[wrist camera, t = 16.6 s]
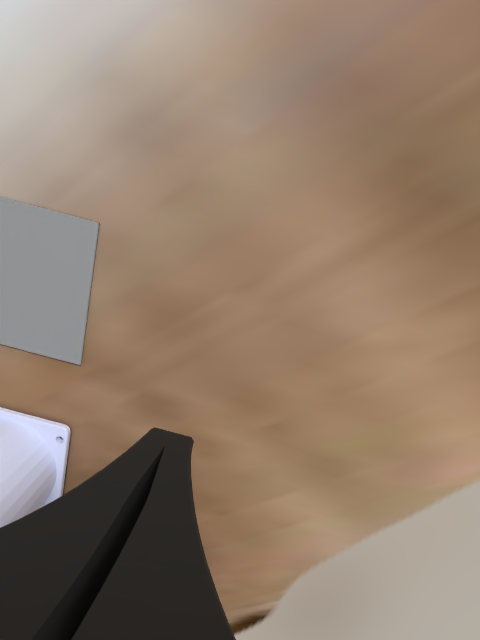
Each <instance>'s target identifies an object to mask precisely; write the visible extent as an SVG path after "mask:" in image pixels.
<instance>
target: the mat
mask: <svg viewBox="0 0 480 640" xmlns="http://www.w3.org/2000/svg"><path fill="white" fill-rule="evenodd" d="M99 224H100V223H98V222H94V221H91V220H87V219H83V218H79V217H75V216H72V215H68V214H64V213H60V212H56V211H53V210H49V209H45V208H41V207H37V206H34V205H30V204H26V203H22V202H18V201H15V200H11V199H7V198H3V197H0V344H2V345H6V346H9V347H13V348H17V349H21V350H25V351H28V352H32V353H36V354H40V355H43V356H47V357H51V358H55V359H59V360H62V361H66V362H70V363H74V364H77V365H81V362H82V354H83V347H84V339H85V331H86V324H87V316H88V308H89V300H90V293H91V285H92V277H93V270H94V262H95V254H96V247H97V239H98V231H99Z"/></svg>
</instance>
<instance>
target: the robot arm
mask: <svg viewBox="0 0 480 640" xmlns="http://www.w3.org/2000/svg"><path fill="white" fill-rule="evenodd" d="M70 433H71V432H70V428H69V427H68V426H67V425H65V424H61V423H57V422H54V421H50V420H46V419H42V418H39V417H35V416H31V415H27V414H23V413H20V412H16V411H12V410H8V409H5V408H1V407H0V640H236V639H235V637H234V634H233V632H232V630H231V627H230V625H229V623H228V620H227V618H226V615H225V613H224V610H223V608H222V605H221V602H220V600H219V597H218V594H217V591H216V588H215V585H214V582H213V579H212V576H211V573H210V570H209V567H208V564H207V561H206V557H205V554H204V550H203V546H202V542H201V538H200V534H199V529H198V525H197V519H196V514H195V507H194V501H193V492H192V480H191V452H192V446H193V442H194V441H193V439H192V438H191V437H189V436H185V435H181V434H177V433H173V432H170V431H166V430H162V429H158V428H153V429H151V430H150V431H149V432H148V433H146V434H145V435H144V436H143V437H142V438H141V439H140V440H139V441H138V442H136V443H135V444H134V445H133V446H132V447H131V448H129V449H128V450H127V451H126V452H125V453H123V454H122V455H121V456H119V457H118V458H117V459H116V460H114V461H113V462H112V463H110V464H109V465H108V466H106V467H105V468H104V469H102V470H101V471H99V472H98V473H96V474H95V475H94V476H92V477H91V478H89V479H88V480H86V481H85V482H83V483H82V484H80V485H79V486H77V487H76V488H74V489H72V490H71V491H69V492H68V493H66V494H64V495H63V487H64V480H65V472H66V464H67V456H68V449H69V441H70ZM60 437H62V438H63V440H62V439H61V438H60ZM62 495H63V496H62Z"/></svg>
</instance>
